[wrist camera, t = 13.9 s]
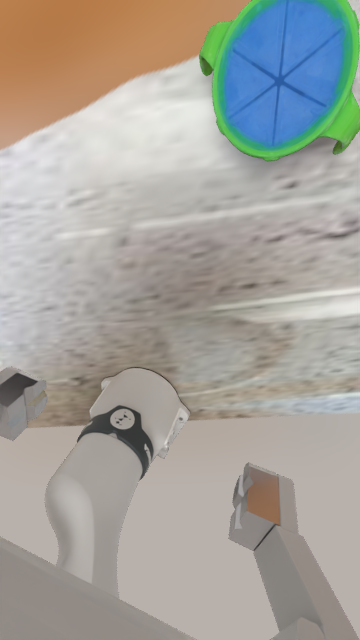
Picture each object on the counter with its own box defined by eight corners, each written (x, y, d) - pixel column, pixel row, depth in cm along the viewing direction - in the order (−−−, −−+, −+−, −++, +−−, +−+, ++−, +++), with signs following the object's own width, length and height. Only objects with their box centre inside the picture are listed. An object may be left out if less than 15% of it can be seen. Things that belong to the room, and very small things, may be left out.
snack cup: (192, 115, 31) (162, 87, 23) (253, 0, 26) (246, -94, 17) (295, 199, 32) (305, 203, 23) (375, 104, 27) (427, 63, 18)
